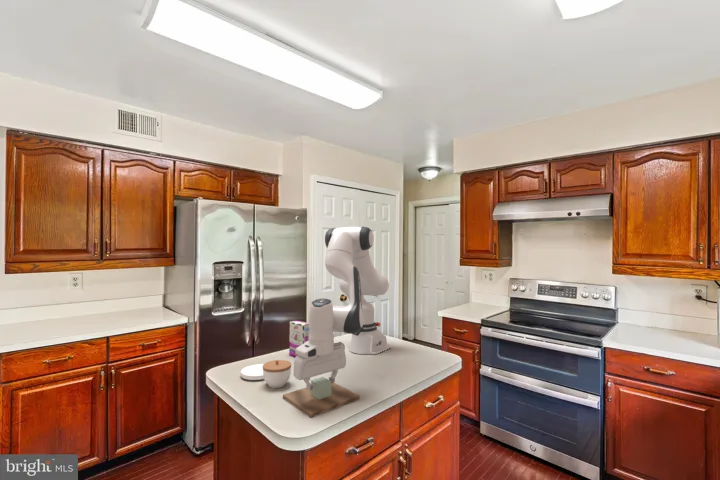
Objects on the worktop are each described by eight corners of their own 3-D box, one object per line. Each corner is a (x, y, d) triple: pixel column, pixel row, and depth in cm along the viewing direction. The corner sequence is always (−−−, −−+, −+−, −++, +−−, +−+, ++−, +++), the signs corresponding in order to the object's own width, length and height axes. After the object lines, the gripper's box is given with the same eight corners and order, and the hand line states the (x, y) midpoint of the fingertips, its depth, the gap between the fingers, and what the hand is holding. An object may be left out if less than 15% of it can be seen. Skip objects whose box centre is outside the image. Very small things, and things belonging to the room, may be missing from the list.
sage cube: (322, 390, 125) (323, 376, 125) (331, 395, 122) (331, 381, 122) (311, 394, 122) (311, 380, 122) (319, 399, 118) (319, 384, 118)
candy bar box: (311, 358, 165) (311, 323, 165) (303, 360, 161) (303, 325, 161) (297, 353, 173) (297, 319, 173) (288, 355, 169) (288, 321, 169)
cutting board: (329, 383, 135) (329, 380, 135) (359, 399, 122) (359, 395, 122) (282, 398, 122) (282, 394, 122) (310, 417, 108) (310, 413, 108)
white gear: (256, 385, 134) (256, 378, 134) (233, 377, 141) (233, 371, 141) (283, 373, 146) (283, 367, 146) (260, 367, 153) (260, 361, 153)
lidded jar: (288, 377, 141) (289, 354, 141) (293, 388, 131) (293, 363, 131) (261, 381, 137) (261, 357, 137) (263, 392, 127) (263, 366, 127)
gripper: (339, 339, 131) (339, 375, 131) (291, 349, 118) (291, 390, 118) (349, 342, 126) (349, 380, 126) (301, 354, 113) (300, 397, 113)
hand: (321, 385), depth 122 cm, fingers open, 8 cm apart
